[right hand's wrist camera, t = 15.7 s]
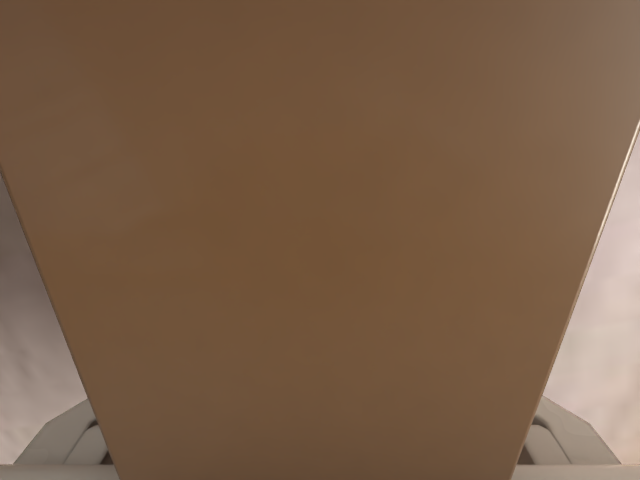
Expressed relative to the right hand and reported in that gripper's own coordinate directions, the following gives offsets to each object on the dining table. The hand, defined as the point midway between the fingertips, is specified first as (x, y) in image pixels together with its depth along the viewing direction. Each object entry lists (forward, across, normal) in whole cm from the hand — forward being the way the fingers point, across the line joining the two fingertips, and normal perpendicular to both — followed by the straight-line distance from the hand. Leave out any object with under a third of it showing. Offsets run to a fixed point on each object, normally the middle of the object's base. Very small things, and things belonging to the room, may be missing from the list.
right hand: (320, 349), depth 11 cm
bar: (+2, 0, +10) cm, 10 cm away
